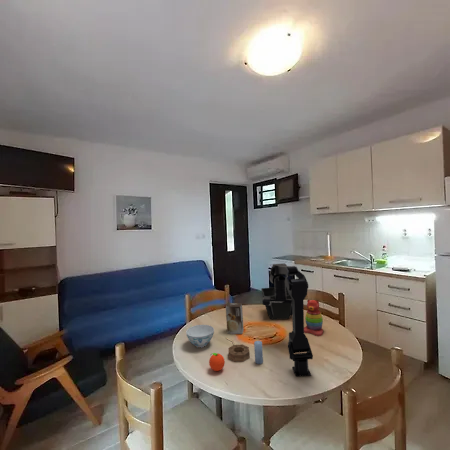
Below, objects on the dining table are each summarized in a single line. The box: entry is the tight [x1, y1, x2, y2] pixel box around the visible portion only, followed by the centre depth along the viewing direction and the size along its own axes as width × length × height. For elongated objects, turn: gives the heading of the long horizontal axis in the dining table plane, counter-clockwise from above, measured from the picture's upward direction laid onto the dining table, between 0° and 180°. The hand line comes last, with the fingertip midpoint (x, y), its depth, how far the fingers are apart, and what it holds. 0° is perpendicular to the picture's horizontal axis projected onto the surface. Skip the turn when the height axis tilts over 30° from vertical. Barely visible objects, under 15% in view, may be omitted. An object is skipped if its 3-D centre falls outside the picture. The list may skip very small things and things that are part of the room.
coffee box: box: [225, 302, 245, 335], centre depth 152 cm, size 9×6×16 cm
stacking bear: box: [304, 299, 324, 337], centre depth 147 cm, size 11×10×18 cm
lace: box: [225, 337, 236, 346], centre depth 137 cm, size 15×3×1 cm, turn 20°
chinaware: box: [185, 324, 215, 348], centre depth 138 cm, size 15×15×8 cm
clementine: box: [208, 352, 226, 372], centre depth 115 cm, size 8×7×7 cm
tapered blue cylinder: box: [253, 340, 264, 365], centre depth 119 cm, size 4×4×9 cm
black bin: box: [261, 287, 292, 320], centre depth 172 cm, size 19×19×17 cm
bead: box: [227, 344, 251, 363], centre depth 125 cm, size 10×10×3 cm
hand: (281, 317), depth 134 cm, fingers open, 9 cm apart
